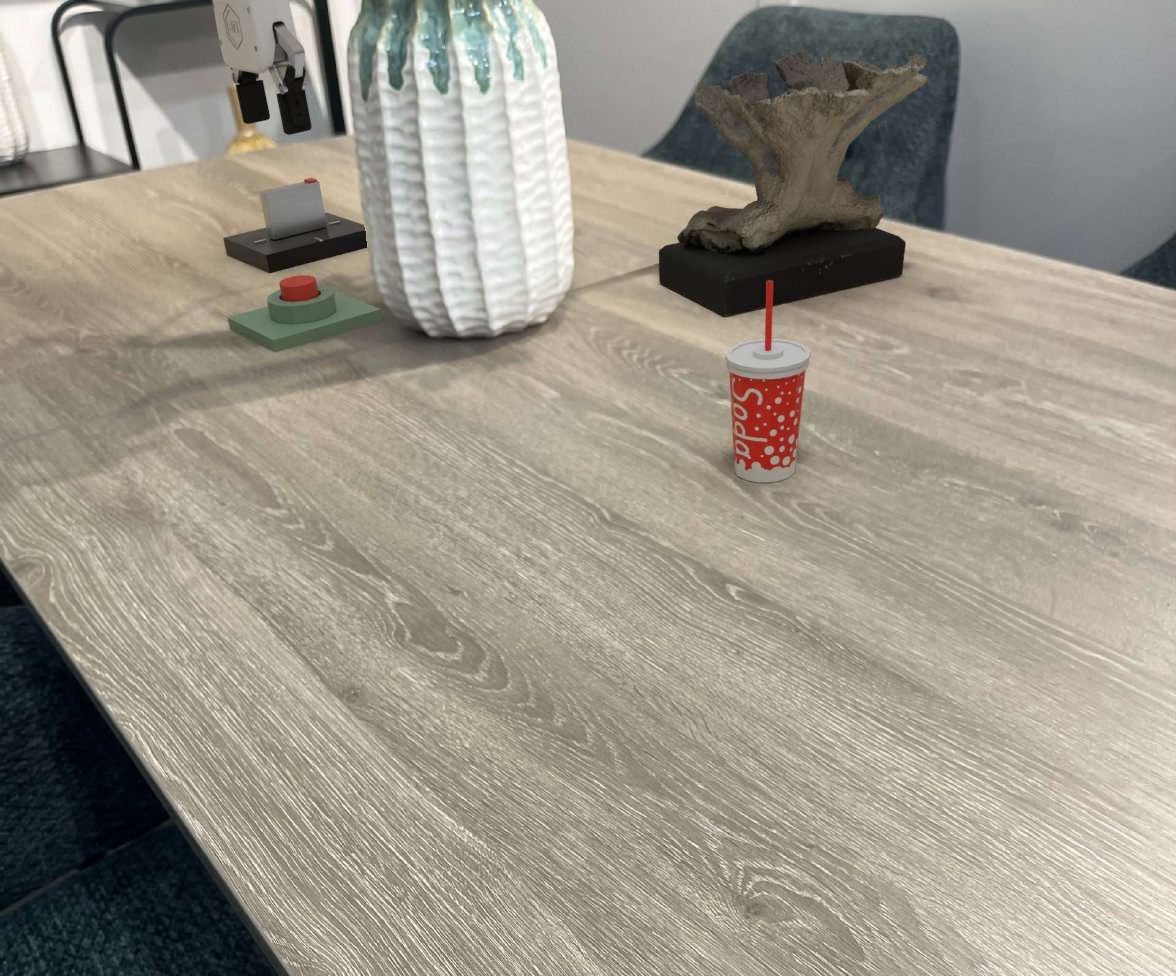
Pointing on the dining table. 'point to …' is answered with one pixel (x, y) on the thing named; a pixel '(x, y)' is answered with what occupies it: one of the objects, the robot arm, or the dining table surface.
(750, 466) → the beverage cup
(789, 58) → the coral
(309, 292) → the button
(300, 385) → the dining table surface
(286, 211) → the upright grey panel
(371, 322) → the button block
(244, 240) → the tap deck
